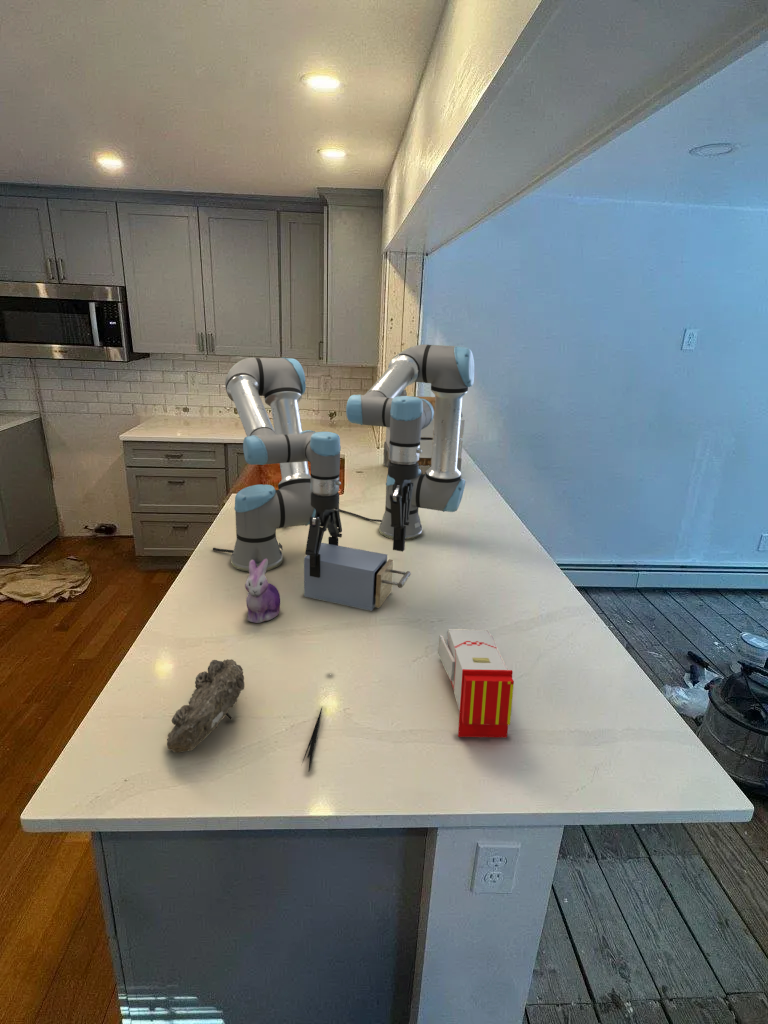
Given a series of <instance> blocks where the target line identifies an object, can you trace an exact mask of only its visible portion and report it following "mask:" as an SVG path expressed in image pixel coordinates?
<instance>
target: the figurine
mask: <svg viewBox="0 0 768 1024" xmlns="http://www.w3.org/2000/svg"><path fill="white" fill-rule="evenodd" d="M267 566H268V559H264V560H263V561H262V562H261V564H260V565H259V566H258V567H257V565H256V563H255V561H254V560H251V561H250V563H249V572H248V573H249V574H248V577H247V579H246V581H245V584H244V589H245V591H246V592H247V596H246V598H245V599H246V600H245V604H246V609H247V621H248V622H251V623H256V624H261V623H263V622H268V621H272V619H275V618H276V617H277V616H279V614H280V612H281V603H282V602H281V595H280V592H279V589H278V588H277V587H276V586H275V585H274V584H273V583H269V581H268V579H267V577H266V573H267V571H266V569H267Z"/></svg>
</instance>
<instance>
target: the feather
mask: <svg viewBox="0 0 768 1024" xmlns="http://www.w3.org/2000/svg"><path fill="white" fill-rule="evenodd" d="M329 675H330V676H331V675H332V674H331V673H330V674H329ZM322 710H323V707H321V708H320V710H319V713H318V716H317V719H316V723H315V725H314V728H313V731H312V733H311V737H310V739H309V742H308V745H307V748H306V751H305V754H304V757H303V760H302V763H301V767H302V765H303V763H304V761H305V758H308V759H309V760H308V762H307V763H308V764H307V766H308V771H310V770H311V766H312V765H311V764H312V760H313V757H315V756H314V755H315V751H316V749H315V746H317V739H318V733H319V729H320V722H321V717H322V712H323V711H322ZM313 754H314V755H313ZM306 755H307V757H306Z"/></svg>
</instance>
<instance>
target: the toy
mask: <svg viewBox="0 0 768 1024" xmlns="http://www.w3.org/2000/svg"><path fill="white" fill-rule="evenodd" d="M446 640H447V643H446V641H445V639H444V636H443V635H442V634H439V637H438V646H437V656H438V657H439V659H440V661H441V663H442V666H443V668H444V670H445V672H446V674H447V677H448V679H449V681H450V684H451V687H452V690H453V693H454V697H455V701H456V705H457V708H458V711H459V714H458V715H459V716H458V730H457V731H458V732H457V737H458V738H508V731H509V726H510V725H511V717H512V707H513V697H514V696H513V695H514V684H515V680H514V679H513V673H514V671H513V670H512V669H508V667H507V665H506V662H505V661H504V659H503V658H502V655H501V653H500V651H499V649H498V647H497V643H496V639H495V637H494V635H493V634H491V632H490V631H489V629H467V628H466V629H465V628H463V629H461V628H460V629H459V628H448V630H447V639H446Z"/></svg>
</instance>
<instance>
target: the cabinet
mask: <svg viewBox="0 0 768 1024" xmlns="http://www.w3.org/2000/svg"><path fill="white" fill-rule="evenodd" d="M319 554H320V577H319V578H317V577H312V576H310V555H305V556H304V557H303V597H305V598H308V599H314V600H319V601H325V602H328V603H333V604H338V605H342V606H347V607H350V608H351V607H352V608H356V609H360V610H366V611H371V612H372V611H374V609H375V608H376V607H375V602H376V597H375V598H374V576H375V572H376V571H377V570H378V568H379V567H380V566H381V565H382V567H383V566H384V565H385V564H386V562H387V561H388V554H386V553H383V552H382V553H381V552H376V551H370V550H365V549H360V548H354V547H347V546H342V545H339V544H338V545H332V544H328V543H326V542H321V546H320V550H319Z"/></svg>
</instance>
